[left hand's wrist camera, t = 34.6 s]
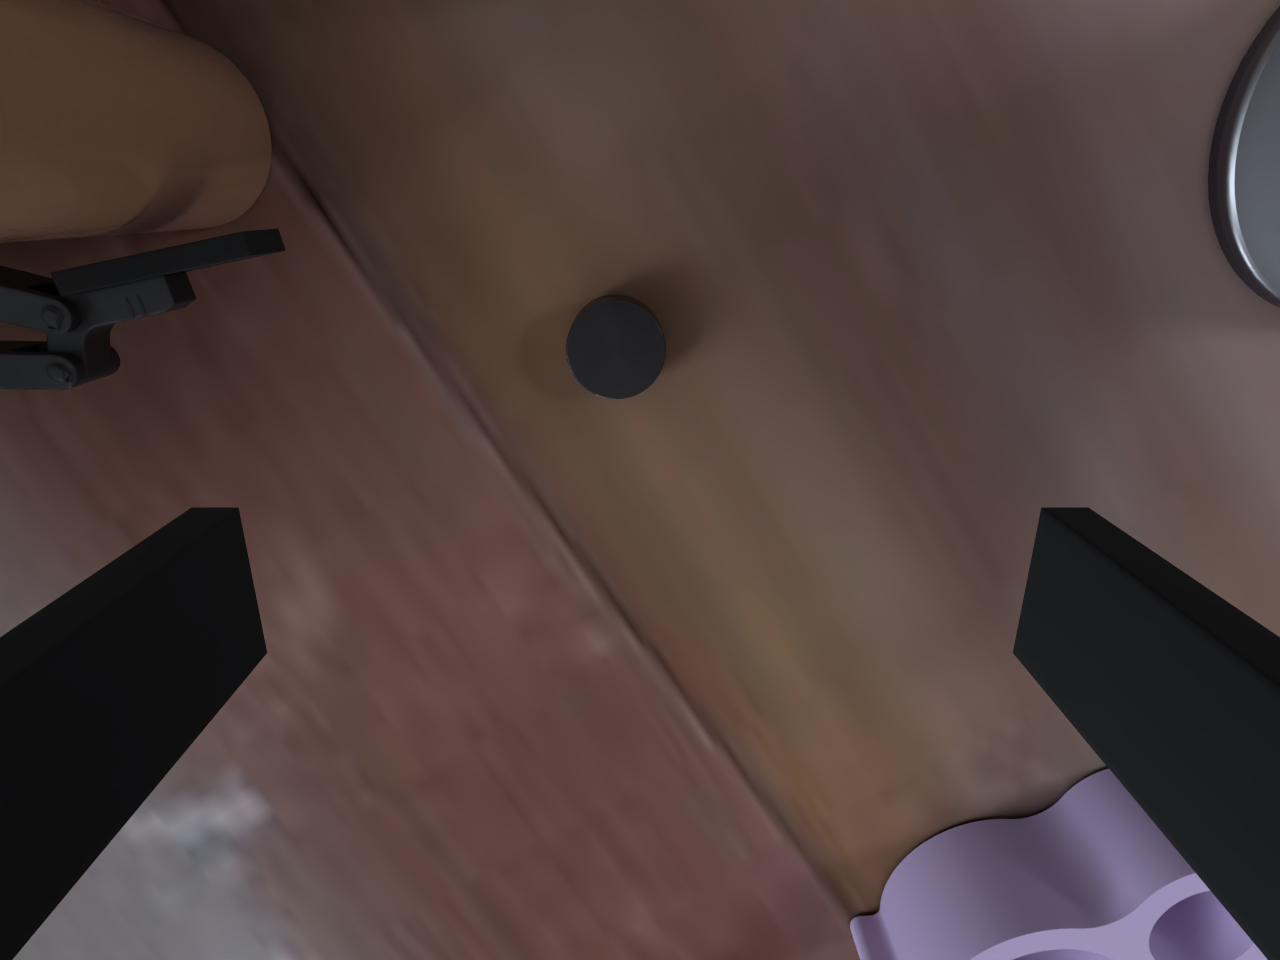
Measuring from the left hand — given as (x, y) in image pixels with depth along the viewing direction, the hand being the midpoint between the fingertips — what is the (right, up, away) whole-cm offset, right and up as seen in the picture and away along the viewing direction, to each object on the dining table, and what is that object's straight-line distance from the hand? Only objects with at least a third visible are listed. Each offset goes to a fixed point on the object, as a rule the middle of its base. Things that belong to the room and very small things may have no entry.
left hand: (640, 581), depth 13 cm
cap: (-1, +7, +19) cm, 21 cm away
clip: (+23, -22, +32) cm, 45 cm away
